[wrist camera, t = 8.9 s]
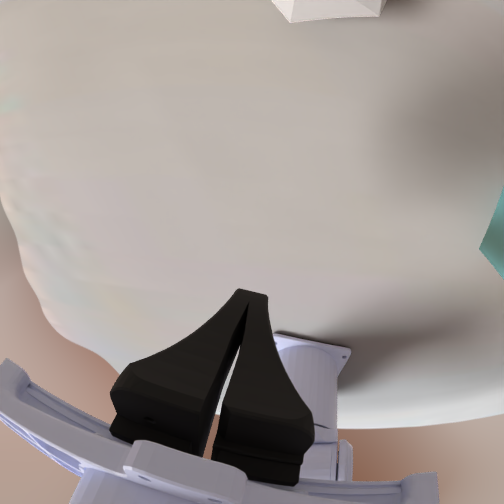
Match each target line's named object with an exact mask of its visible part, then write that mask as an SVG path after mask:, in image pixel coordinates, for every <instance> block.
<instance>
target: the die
mask: <svg viewBox="0 0 504 504" xmlns="http://www.w3.org/2000/svg"><path fill="white" fill-rule="evenodd" d="M271 1H272V2H273V3H274V4H275V5H276V7H277V8H278V9H279V10H280V11H281V13H282V14H283V15H284V16H285V18H286V19H287V20H288V21H289V23H295V22H302V21H311V20H320V19H331V18H345V17H379V16H380V14H381V12H382V10H383V8H384V6H385V3H386V1H387V0H271Z"/></svg>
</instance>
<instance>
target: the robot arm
mask: <svg viewBox="0 0 504 504" xmlns="http://www.w3.org/2000/svg"><path fill="white" fill-rule="evenodd" d="M239 346H240V350H239V355H238V358H237V361H236V364H235V367H234V370H233V373H232V376H231V379H230V382H229V385H228V388H227V391H226V394H225V397H224V399H223V402H222V408H221V413H220V419H219V424H218V430H217V434H216V437H215V441H214V444H213V450H212V456H211V460H209V459H205V458H202V457H203V454H204V450H205V447H206V443H207V439H208V436H209V433H210V429H211V426H212V422H213V419H214V416H215V412H216V409H217V405H218V402H219V399H220V395H221V392H222V389H223V386H224V383H225V381H226V378H227V376H228V373H229V371H230V369H231V366H232V364H233V361H234V359H235V356H236V354H237V351H238V349H239ZM344 355H345V356H344ZM350 355H351V349H350V348H346V347H340V346H335V345H329V344H324V343H319V342H314V341H309V340H304V339H299V338H295V337H290V336H285V335H281V334H272V330H271V325H270V320H269V313H268V297H267V295H265V294H260V293H256V292H252V291H248V290H244V289H240V288H239V289H237V290H236V291H235V293H234V294H233V295H232V297H231V298H230V299H229V300H228V301H227V302H226V304H225V305H224V306H223V307H222V308H221V309H220V310H219V311H218V312H217V313H216V314H215V315H214V316H213V317H212V318H210V319H209V320H208V321H207V322H206V323H205V324H203V325H202V326H201V327H200V328H198V329H197V330H196V331H195V332H193V333H192V334H190V335H189V336H187V337H186V338H184V339H183V340H181V341H179V342H178V343H176V344H174V345H173V346H171V347H169V348H167V349H165V350H163V351H161V352H158V353H156V354H154V355H152V356H150V357H147V358H144V359H141V360H139V361H136V362H133V363H130V364H129V365H128V366H127V367H126V368H125V369H124V371H123V372H122V373H121V374H120V376H119V377H118V379H117V380H116V382H115V384H114V386H113V387H112V389H111V391H110V397H111V400H112V402H113V405H114V407H115V410H116V412H117V415H116V417H115V419H114V420H113V422H112V424H111V425H110V424H108V423H106V422H104V421H102V420H100V419H97V418H95V417H93V416H91V415H89V414H87V413H85V412H84V411H82V410H79V409H78V408H76V407H74V406H72V405H70V404H69V403H66V402H65V401H63V400H61V399H60V398H58V397H56V396H55V395H53V394H51V393H49V392H48V391H46V390H44V389H43V388H41V387H40V386H38V385H37V384H35V383H33V382H32V381H31V379H30V378H29V375H28V374H27V373H26V371H25V370H24V369H23V368H21V367H20V366H19V365H17V364H16V363H14V362H13V361H11V360H10V359H8V358H6V359H5V360H4V361H3V363H2V364H1V365H0V420H1V421H2V422H3V423H4V424H6V425H7V426H8V427H9V428H11V429H12V430H13V431H14V432H16V433H17V434H18V435H19V436H21V437H22V438H23V439H25V440H26V441H27V442H29V443H30V444H31V445H33V446H34V447H35V448H37V449H38V450H39V451H41V452H42V453H44V454H45V455H46V456H48V457H49V458H51V459H52V460H54V461H55V462H57V463H58V464H60V465H61V466H63V467H64V468H66V469H68V470H69V471H71V472H72V473H74V474H76V475H77V476H79V477H81V479H80V481H79V483H78V485H77V487H76V489H75V491H74V493H73V495H72V498H71V500H70V502H69V504H439V490H438V480H437V472H425V473H415V474H411V475H409V476H407V477H405V478H404V479H402V480H401V481H375V482H361V481H359V482H358V481H352V472H353V449H352V445H350V444H349V443H347V440H340V446H339V451H338V464H337V444H338V441H337V440H338V430H337V377H338V375H339V374H340V372H341V370H342V369H343V367H344V365H345V364H346V362H347V360H348V359H349V357H350Z"/></svg>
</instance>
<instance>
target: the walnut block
mask: <svg viewBox="0 0 504 504" xmlns="http://www.w3.org/2000/svg"><path fill="white" fill-rule="evenodd" d="M479 249H480V251H481V252H482V253H483V254H484V255H485V257H486V258H487V259H488V260H489V261H490V263H491V264H492V265H493V266H494V268H495V269H496V270H497V271H498V273H499V274H500V275H501V277H502V278H503V279H504V187H503V190H502V193H501V196H500V199H499V202H498V204H497V207H496V210H495V212H494V215H493V217H492V220H491V222H490V225H489V227H488V230H487V232H486V234H485V237H484V239H483V241H482V243H481V246H480V248H479Z"/></svg>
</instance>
